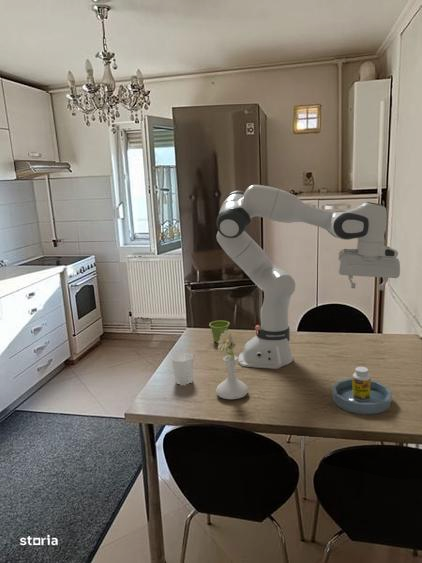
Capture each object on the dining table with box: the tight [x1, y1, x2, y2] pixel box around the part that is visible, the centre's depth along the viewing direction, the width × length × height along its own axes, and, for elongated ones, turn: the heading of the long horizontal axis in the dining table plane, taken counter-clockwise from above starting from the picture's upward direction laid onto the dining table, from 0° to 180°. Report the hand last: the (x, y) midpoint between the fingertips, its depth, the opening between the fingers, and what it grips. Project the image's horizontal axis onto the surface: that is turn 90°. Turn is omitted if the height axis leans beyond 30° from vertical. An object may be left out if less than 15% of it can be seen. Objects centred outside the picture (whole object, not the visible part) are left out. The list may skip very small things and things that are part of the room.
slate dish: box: [331, 377, 393, 415], centre depth 144 cm, size 18×18×4 cm
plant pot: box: [209, 320, 230, 344], centre depth 204 cm, size 9×9×9 cm
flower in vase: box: [215, 329, 249, 400], centre depth 149 cm, size 13×11×25 cm
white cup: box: [171, 352, 194, 386], centre depth 164 cm, size 8×8×10 cm
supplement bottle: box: [352, 366, 372, 401], centre depth 142 cm, size 6×6×10 cm
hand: (366, 289), depth 153 cm, fingers open, 8 cm apart
